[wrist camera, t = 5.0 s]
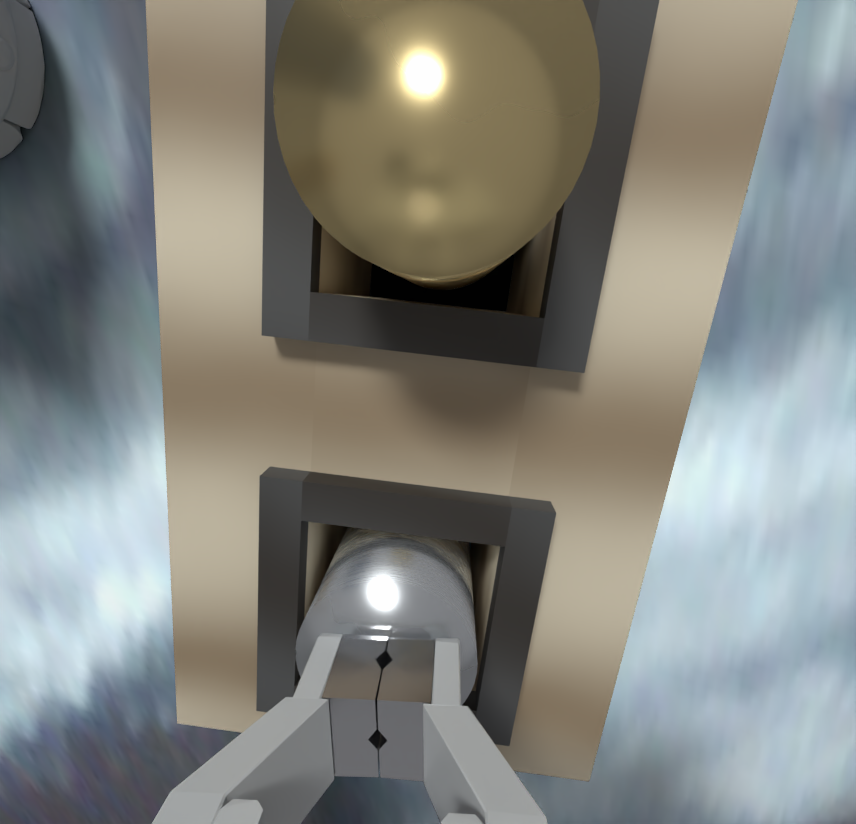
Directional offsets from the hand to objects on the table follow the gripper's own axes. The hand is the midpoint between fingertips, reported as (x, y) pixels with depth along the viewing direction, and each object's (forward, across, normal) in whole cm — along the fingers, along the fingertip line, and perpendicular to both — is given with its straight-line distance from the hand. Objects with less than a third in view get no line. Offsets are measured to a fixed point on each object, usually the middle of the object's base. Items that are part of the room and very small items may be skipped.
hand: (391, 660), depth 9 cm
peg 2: (+6, 0, 0) cm, 7 cm away
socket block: (+8, 0, -5) cm, 9 cm away
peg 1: (+5, -1, -10) cm, 11 cm away
